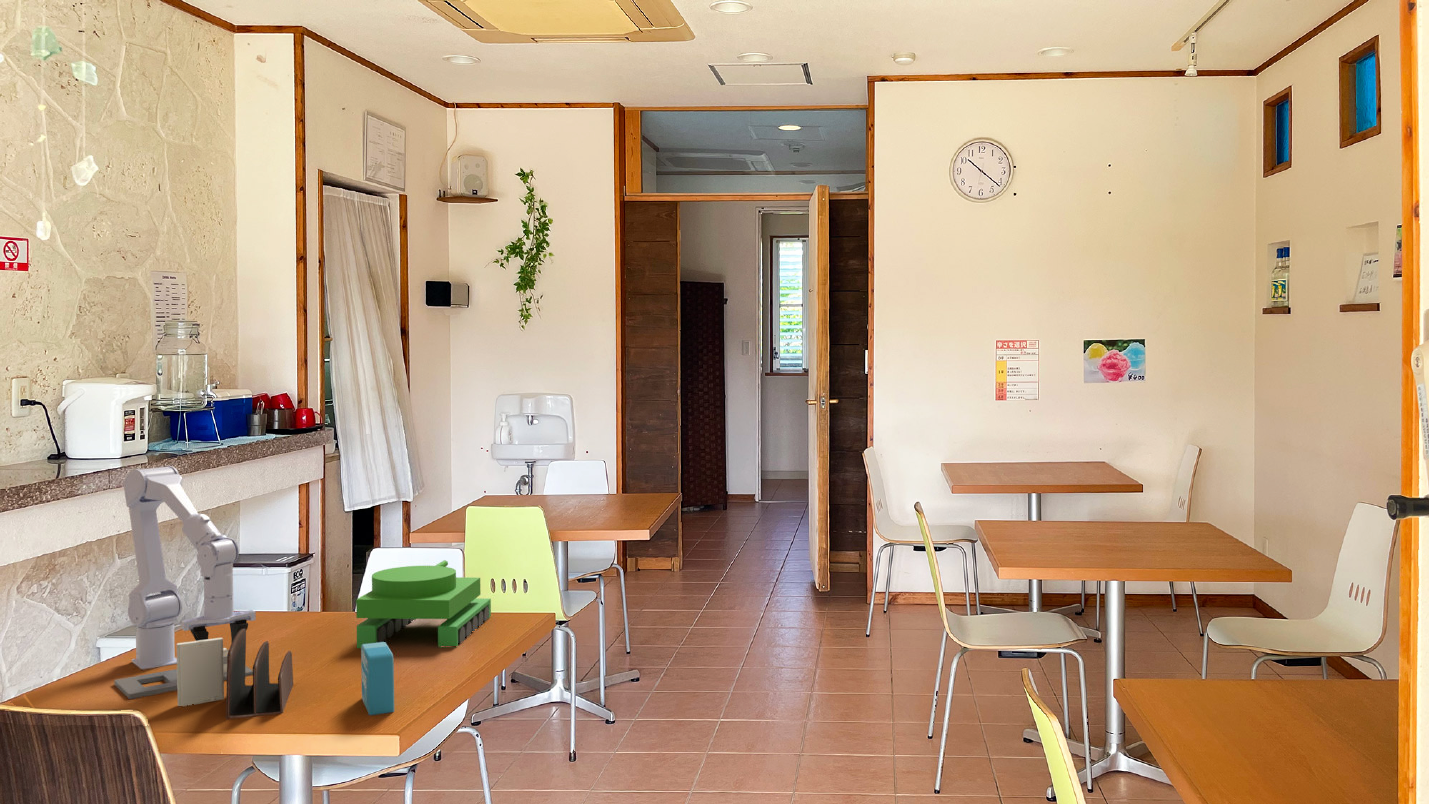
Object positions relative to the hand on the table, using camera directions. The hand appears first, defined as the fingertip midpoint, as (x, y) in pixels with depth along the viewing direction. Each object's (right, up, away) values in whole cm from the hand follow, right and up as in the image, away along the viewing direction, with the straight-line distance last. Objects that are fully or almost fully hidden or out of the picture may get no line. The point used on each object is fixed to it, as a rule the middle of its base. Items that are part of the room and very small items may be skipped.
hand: (220, 658), depth 229 cm
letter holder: (+18, -4, -20) cm, 27 cm away
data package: (+42, -4, -25) cm, 49 cm away
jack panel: (-5, -4, -4) cm, 8 cm away
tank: (+36, -3, +35) cm, 50 cm away
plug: (-1, -3, +1) cm, 4 cm away
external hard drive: (+6, -4, -20) cm, 21 cm away
